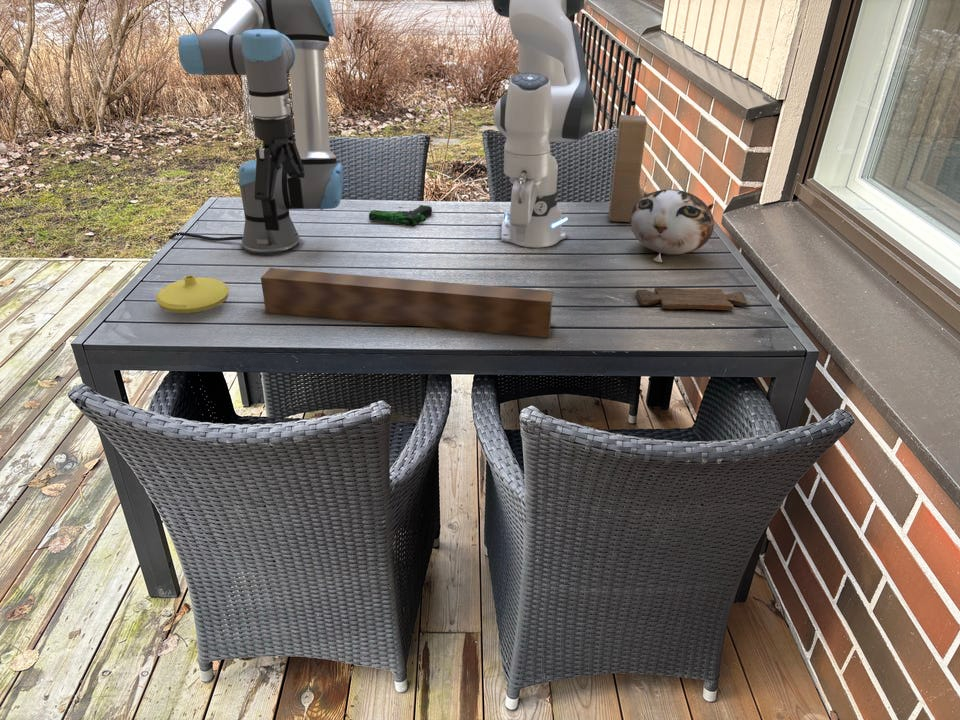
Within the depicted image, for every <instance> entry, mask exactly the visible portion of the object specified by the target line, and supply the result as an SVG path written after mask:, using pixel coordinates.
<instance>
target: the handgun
mask: <svg viewBox="0 0 960 720" xmlns="http://www.w3.org/2000/svg"><path fill="white" fill-rule="evenodd" d="M432 213H433V208H432V206H430V205H423V204H419V206H418V207H416V208H414V209H413V210H409V211H403V210H402V211H400V210H399V211H395V212H393V211H386V210H385V211H384V210H383V211H382V210H378V209H377V210H376V209H373V210H371V211H370V212H369V213H368V220H369V221H374V222H383V223H391V224H398V225H402V226H406V227H416V226H418V225H420V223H423V222H426V220H427V218H426V217H429V216H432Z"/></svg>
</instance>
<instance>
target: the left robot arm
mask: <svg viewBox="0 0 960 720" xmlns="http://www.w3.org/2000/svg"><path fill="white" fill-rule="evenodd" d="M335 35H336V27H335V18H334V13H333V8H332V4H331V0H224V2H223V4H222V6H221V12H220V13H219V14H218V15H217V16H216V17H215V18H214V20H213V21H212V22H211V23H209V25H208V26H207V27H206V28H205V29H204V30H203V31H202V32H201V33H199V34H197V33H190V34H182V35H180V37H179V39H178V44H177V46H178V47H177V52H178V53H177V54H178V58H179V63H180V65H181V67H182V69H183V70H184V71H185V73H187V74H189V75H197V76H198V75H201V76H203V77H204V76H246V77H245V78H246V82H247V89H248V90H247V91H248V97H249V105H250V106H249V107H250V113H251V115H252V116H253V118H252V124H253V132H254V136H255V137H256V138H258V139H260V140H261V141H262V147H256V148H255V159H251V160H248V161H246V162H244V163H242V164H241V165H240V166H239V168H238V170H237V174H238V186H239V190H240V196H241V201H242V208H243V212H244V213H243V215H244V219H245V220H244V226H243V228H244V229H243V235H240V236H226V237H225V236H224V237H213V236H206V235H202V234H196V233H190V232H183V231H177V232H174V233H172V234H171V235H170V236H168V238H167V239H168V240H172V239H174V238H175V237H180V236H182V237H189V238H196V239H201V240H205V241H211V242H224V241H238V240H239V241H240V240H241V246H242V249H243V251H244V252H246V253H248V254H252V255H255V256H256V255H257V256H275V255H281V254H282V255H283V254H285V253H289V252H291V251H293V250H296V249H297V248H298V247H299V246H300V244H301V241H300V235H299V233H298V231H297V229H296V227H295V225H294V223H293V220H292V218H291V216H290V210H320V211H323V210H330V209H331V210H332V209H333V210H334V209H336V208H337V207H338V206H340V204H341V201H342V194H343V188H344V166H343V164H342V163H339V162H338V163H337V161H338V160H337V155H335V154H334V152H333V151H331V144H330V143H331V142H330V129H329V128H330V126H329V113H328V111H329V110H328V98H327V97H328V95H327V81H326V80H327V79H326V67H325V50H326V49H327V48H328V47H329V45H330V37H331V38H332V37H333V36H335ZM288 72H289V73H290V85H291V97H292V99H290V95H289V87H288V75H287V73H288ZM291 104H292V109H293V111H292V113H293V117H291V115H290V114H291ZM292 118H293V119H292ZM293 124H294V126H293ZM293 127H294V128H293ZM178 232H179V233H178ZM179 234H180V235H179ZM176 235H177V236H176Z"/></svg>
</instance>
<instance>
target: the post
mask: <svg viewBox="0 0 960 720" xmlns="http://www.w3.org/2000/svg"><path fill="white" fill-rule="evenodd" d="M260 283H261V290H262V296H263V297H262V298H263V302H264V309H265V313H271V314H280V315H292V316H304V317H314V318H325V319H335V320H336V319H337V320H346V321H347V320H349V321H357V322H358V321H359V322H369V323H370V322H371V323H379V324H380V323H381V324H393V325H404V326H415V327H425V328H438V329H449V330H458V331H459V330H460V331H470V332H480V333H481V332H482V333H491V334H503V335H504V334H505V335H514V336H526V337H537V338H547V339H548V338H549V337H550V331H551V324H552V312H553V298H554V291H553V290H546V289H545V290H544V289H533V288H520V287H511V286H510V287H508V286H496V285H484V284H472V283H459V282H447V281H433V280H422V279H412V278H411V279H410V278H399V277H397V278H396V277H386V276H375V275H374V276H373V275H361V274H349V273H339V272H338V273H336V272H323V271H313V270H312V271H311V270H300V269H289V268H276V267H275V268H274V267H270V268H269V269H268V270H267V271H266V272H264V274H262V275H261V276H260Z"/></svg>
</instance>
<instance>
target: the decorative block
mask: <svg viewBox="0 0 960 720" xmlns="http://www.w3.org/2000/svg"><path fill="white" fill-rule="evenodd" d="M647 127H648V122H647V118H646V116H645V115H636V114H635V115H634V114H620V115H619V118H618V127H617V135H616V136H617V137H616V146H615V154H614V164H613V171H612V172H613V173H612V181H611V191H610V199H609V210H608V220H609V221H610V222H617V223H630V216H631V212H632V210H633V208H634V206H635V205H636V203H637V202H638V201H639V200H640V199H641V198H643V197H644V194H647V195H648V194H650V193H651V192H646V191H645V190H644V189H643V188H642V187H641V184H640V180H641V173H642V167H643V166H642V165H643V157H644V151H645V142H646V136H647V135H646V134H647Z"/></svg>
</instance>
